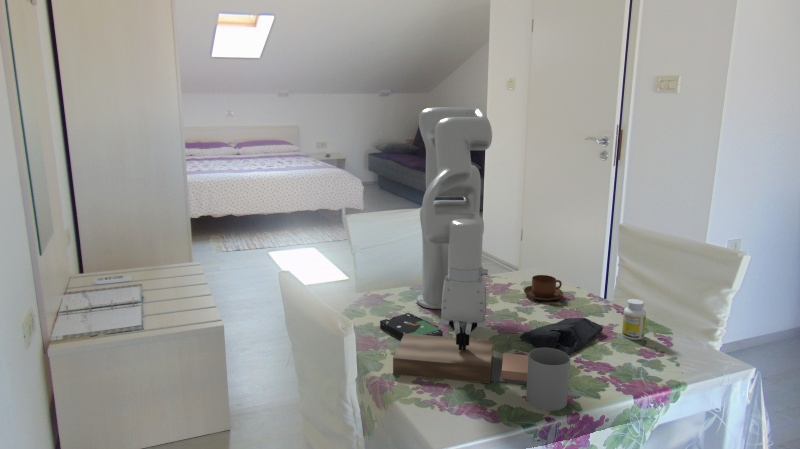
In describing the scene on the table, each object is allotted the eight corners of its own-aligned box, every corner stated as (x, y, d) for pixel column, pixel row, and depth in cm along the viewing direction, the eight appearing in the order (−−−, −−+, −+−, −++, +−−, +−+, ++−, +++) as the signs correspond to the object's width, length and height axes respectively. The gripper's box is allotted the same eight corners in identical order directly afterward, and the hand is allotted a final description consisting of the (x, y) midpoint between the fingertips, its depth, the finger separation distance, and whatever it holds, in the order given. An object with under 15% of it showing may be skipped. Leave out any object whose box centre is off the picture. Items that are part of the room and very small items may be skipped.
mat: (492, 359, 142) (492, 358, 141) (543, 363, 139) (543, 362, 139) (490, 381, 131) (490, 379, 131) (545, 386, 129) (546, 385, 129)
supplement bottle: (633, 331, 158) (637, 296, 156) (648, 339, 153) (651, 303, 151) (617, 333, 157) (620, 299, 154) (631, 341, 152) (634, 306, 149)
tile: (529, 355, 138) (528, 363, 139) (503, 353, 140) (503, 360, 140) (529, 373, 130) (528, 381, 130) (501, 370, 131) (501, 378, 132)
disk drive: (379, 330, 160) (413, 348, 149) (379, 320, 159) (413, 337, 148) (408, 321, 166) (443, 338, 155) (408, 312, 166) (443, 328, 154)
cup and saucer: (541, 288, 193) (542, 270, 191) (570, 299, 183) (572, 280, 182) (515, 295, 186) (516, 276, 185) (544, 306, 176) (545, 287, 175)
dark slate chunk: (612, 337, 155) (614, 320, 154) (563, 361, 142) (564, 342, 141) (564, 320, 167) (565, 304, 166) (513, 340, 153) (514, 323, 152)
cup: (560, 390, 127) (562, 347, 125) (572, 410, 119) (575, 365, 117) (521, 390, 127) (523, 348, 125) (531, 411, 119) (534, 365, 117)
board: (404, 348, 148) (404, 333, 147) (492, 355, 143) (492, 340, 143) (392, 374, 134) (392, 357, 133) (489, 383, 130) (490, 366, 129)
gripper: (498, 270, 135) (495, 343, 139) (434, 266, 138) (433, 338, 142) (497, 280, 128) (494, 357, 132) (429, 276, 131) (428, 352, 135)
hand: (462, 347), depth 137 cm, fingers closed
